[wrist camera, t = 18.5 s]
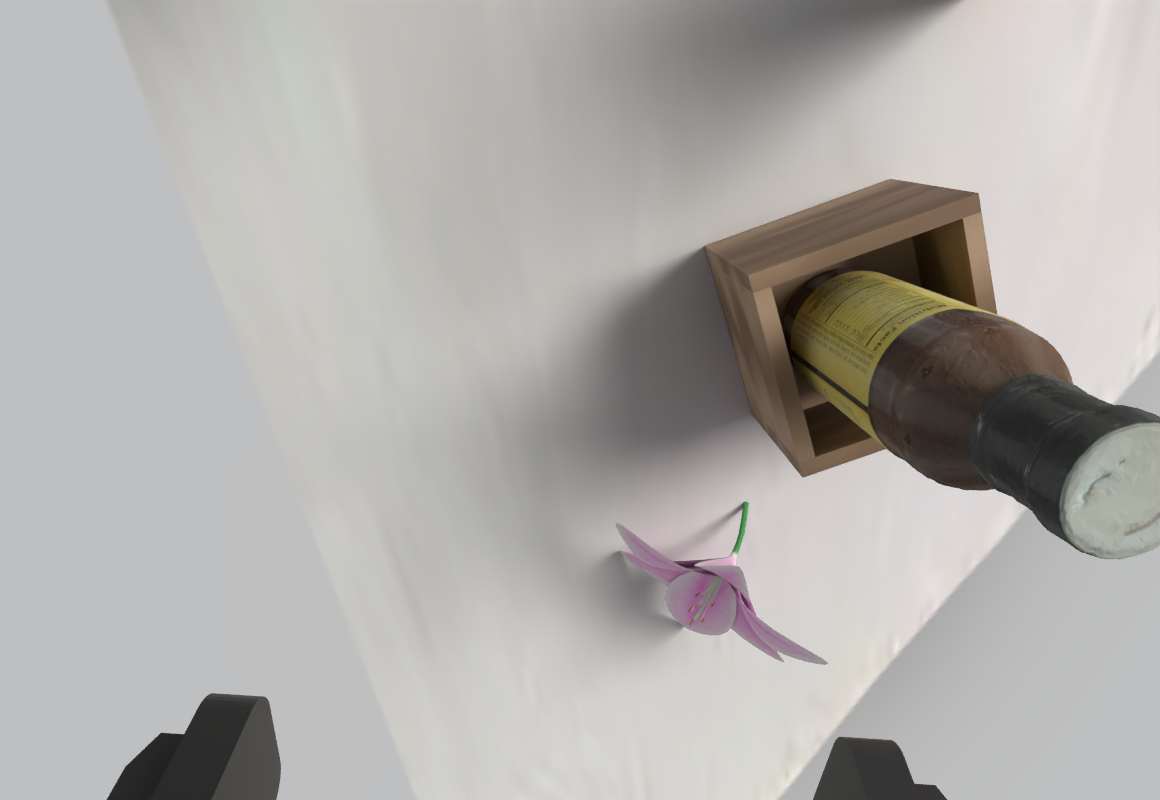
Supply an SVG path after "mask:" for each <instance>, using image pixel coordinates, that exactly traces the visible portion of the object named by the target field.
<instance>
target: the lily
mask: <svg viewBox="0 0 1160 800" xmlns="http://www.w3.org/2000/svg"><path fill="white" fill-rule="evenodd" d="M748 505H749V503H748V502H744V504H743V511H742V519H741V524H740V530H739V535H738V538H737V541H736V544H735V547H734V549H733V551H732V553H731V555H730V556H729V557H726V558H719V559H707V560H694V561H675V562H672V561H671V560H669V559H667V558H666V557H664V556H663V555H661V554H660V553H658V552H657V551H656V550H654V549H653V548H651V547H650V546H649V545H647V544H646V543H645V542H643V541H642V540H641V539H639V538H638V537H637V536H636V535H634V534H633V533H632V532H630V531H629V530H628V529H626V528H625V527H624V526H622V525H620V524H618V523H617V524H616V527H617V529H618V531H619V533H620V535H621V536H622V538H623V540H624V541H625V543H626V544H627V545H628V547H629V548H630V549H631V551H632V552H633V553H634V554H635V555H636V556H635V555H631V554H628V553H625V552H622V551H620V552H621V553H622V555H623V556H624V557H625V558H627V559H628V560H629V561H630V562H631V563H633V564H634V565H636V566H637V567H638V568H640V569H641V570H642V571H644V572H646V573H647V574H649V575H650V576H652V577H653V578H655V579H657V580H658V581H660V582H662V583H664V584H666V585H668V586H669V587H668V588H667V590H666V596H665V599H666V604H667V607H668V609H669V611H670V613H671V614H672V616H673V617H674V618H675V620H676V621H677V622H679V623H680V624H681V625H683V626H684V627H686V628H687V629H689V630H692V631H694V632H698V633H701V634H706V635H721V634H723V633H725V632H727V631H728V630H729V629H730V628H731V629H732V630H734V631H735V632H736V633H737V634H738V635H740V636H741V637H742V638H744V639H745V640H746V641H748V642H749V643H751V644H752V645H754V646H755V647H757V648H758V649H760V650H761V651H763V652H765V653H766V654H768V655H770V656H771V657H773V658H775V659H777V660H779V661H782V662H784V661H783V659H782V658H781V657H780V655H779V654H778V653H777V651H778V652H780V653H782V654H784V655H787V656H790V657H793V658H796V659H799V660H803V661H807V662H811V663H816V664H824V665H825V664H828V663H827V662H826V661H825V660H823V659H822V658H820V657H819V656H817V655H815V654H813V653H812V652H810V651H808V650H807V649H805V648H803V647H801V646H800V645H798V644H796V643H794V642H793V641H791V640H789V639H788V638H786V637H785V636H783V635H781V634H780V633H778V632H777V631H775V630H773V629H772V628H771V627H769V626H768V625H767V624H765V623H764V622H763V621H762V620H760V619H759V618H758V617H757V616H756V614H755V611H754V609H753V606H752V604H751V601H750V599H749V595H748V590H747V585H746V581H745V578H744V574H743V572H742V570H741V569H740V567H737V566H736V557H737V554H738V551H739V549H740V546H741V543H742V539H743V536H744V532H745V526H746V520H747V513H748Z"/></svg>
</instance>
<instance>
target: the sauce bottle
mask: <svg viewBox="0 0 1160 800" xmlns="http://www.w3.org/2000/svg"><path fill="white" fill-rule="evenodd" d="M782 331H783V334H784V338H785V342H786V346H787V350H788V354H789V357H790V361H791V364H792V365H793V367H794V368H795V369H796V370H797V371H798V373H799V375H800V376H801V377H802V379H803V380H804V381H805V382H806V383H807V384H808V385H810V386H811V387H812V388H813V389H814V390H816V391H817V392H818V393H819V394H820V395H822V396H823V397H824V398H825V399H827V400H828V401H829V402H830V403H832V404H833V405H834V406H835V407H837V408H838V409H839V410H840V411H842V412H843V413H844V414H845V415H846V416H848V417H849V418H850V419H851V420H852V421H853V422H855V423H856V424H857V425H858V426H859V427H861V428H862V429H863V430H864V431H865V432H867V433H868V434H869V435H870V436H872V437H873V438H874V439H875V440H876V441H878V442H879V443H880V444H881V445H882V446H884V447H885V448H886V449H887V450H889V451H890V452H891V453H893V454H894V455H895V456H897V457H899V458H901V459H903V460H905V461H906V462H907V463H909V464H910V465H911V466H912V467H913V468H915V469H916V470H917V471H918V472H920V473H922V474H923V475H924V476H926V477H927V478H930V479H932V480H934V481H936V482H937V483H939V484H942V485H945V486H950V487H954V488H960V489H963V490H990V489H996V490H997V491H999V492H1002V493H1004V494H1007V495H1009V496H1012V497H1013V498H1015V500H1016V501H1017V502H1019V503H1021V504H1023V505H1025V506H1026V507H1028V508H1029V509H1030V510H1032V511H1033V513H1034V514H1035V516H1036V517H1037V519H1038V520H1039V521H1040V522H1041V524H1042V525H1043V526H1044V527H1045V528H1046V529H1047V530H1049V531H1050V532H1051V533H1053V534H1055V535H1056V536H1058V537H1059V538H1061V539H1063V540H1064V541H1066V542H1067V543H1069V544H1070V545H1072V546H1073V547H1074V548H1075V549H1077V550H1079V551H1081V552H1083V553H1086V554H1089V555H1092V556H1095V557H1099V558H1104V559H1123V558H1127V557H1131V556H1136V555H1139V554H1142V553H1145V552H1148V551H1151V550H1153V549H1155V548H1157V547H1158V546H1160V417H1159V416H1157V415H1155V414H1152V413H1149V412H1146V411H1144V410H1141V409H1138V408H1133V407H1128V406H1124V405H1112V404H1109V403H1107V402H1105V401H1102V400H1099V399H1097V398H1095V397H1093V396H1092V395H1089V394H1087V393H1086V392H1085V391H1083V390H1082V389H1080V388H1079V387H1077V386H1076V385H1073V382H1072V377H1071V375H1070V372H1069V369H1068V367H1067V366H1066V364H1065V362H1064V361H1063V359H1062V357H1061V355H1060V354H1059V353H1058V352H1057V351H1056V349H1055V348H1054V347H1053V346H1052V345H1051V344H1049V342H1048V341H1046V340H1045V339H1044V338H1042V337H1040V336H1038V335H1037V334H1035V333H1033V332H1032V331H1030V330H1028V329H1026V328H1025V327H1023V326H1021V325H1020V324H1018V323H1016V322H1014V321H1012V320H1010V319H1007V318H1005V317H1002V316H1000V315H997V314H995V313H993V312H989V311H985V310H983V309H980V308H977V307H974V306H971V305H969V304H966V303H963V302H960V301H957V300H954V299H951V298H949V297H946V296H943V295H941V294H938V293H935V292H932V291H930V290H927V289H924V288H921V287H918V286H915V285H913V284H910V283H907V282H904V281H902V280H899V279H896V278H893V277H891V276H888V275H885V274H882V273H878V272H873V271H864V270H859V269H851V268H838V269H833V270H830V271H827V272H825V273H823V274H822V275H820V276H818V277H816V278H815V279H813V280H812V281H810V282H809V283H808V284H806V285H805V286H804V287H803V288H802V289H801V290H800V291H799V292H797V293H796V294H795V295H794V296H793V297H792V299H791V301H790V303H789V305H788V307H787V310H786V314H785V317H784V321H783V326H782Z"/></svg>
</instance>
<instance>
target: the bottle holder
mask: <svg viewBox="0 0 1160 800" xmlns="http://www.w3.org/2000/svg"><path fill="white" fill-rule="evenodd" d="M705 249H706V253H707V256H708V260H709V263H710V267H711V270H712V274H713V277H714V281H715V284H716V288H717V291H718V295H719V298H720V302H721V305H722V309H723V312H724V316H725V319H726V323H727V326H728V330H729V333H730V337H731V340H732V344H733V347H734V351H735V354H736V358H737V361H738V365H739V368H740V372H741V375H742V379H743V382H744V386H745V389H746V392H747V396H748V399H749V403H750V406H751V410H752V413H753V416H754V417H755V419H756V420H757V421H758V422H759V424H760V425H761V426H762V427H763V429H764V430H765V431H766V432H767V434H768V435H769V436H770V437H771V439H772V440H773V441H774V442H775V444H776V445H777V446H778V447H779V449H780V450H781V451H782V452H783V454H784V455H785V456H786V457H787V459H788V460H789V461H790V462H791V464H792V465H793V466H794V467H795V469H796V470H797V471H798V472H799V473H800V475H801V476H802V477H806V476H809V475H812V474H815V473H817V472H820V471H823V470H826V469H829V468H832V467H835V466H838V465H841V464H844V463H846V462H849V461H852V460H855V459H858V458H861V457H864V456H867V455H870V454H873V453H875V452H878V451H881V450H884V449H886V448H885V447H884V446H882V445H881V444H880V443H879V442H878V441H876V440H875V439H874V438H873V437H872V436H870V435H869V434H868V433H867V432H865V431H864V430H863V429H862V428H861V427H859V426H858V425H857V424H856V423H855V422H853V421H852V420H851V419H850V418H849V417H848V416H846V415H845V414H844V413H843V412H842V411H840V410H839V409H838V408H837V407H835V406H834V405H833V404H832V403H830V402H829V401H828V400H827V399H825V398H824V397H823V396H822V395H820V394H819V393H818V392H817V391H816V390H814V389H813V388H812V387H811V386H810V385H808V384H807V383H806V382H805V381H804V380H803V379H802V377H801V376H800V375H799V373H798V371H797V370H796V369H795V368H794V367H793V365H792V364H791V361H790V357H789V354H788V350H787V346H786V342H785V338H784V334H783V331H782V326H783V321H784V317H785V314H786V310H787V307H788V305H789V303H790V301H791V299H792V297H793V296H794V295H795V294H796V293H797V292H799V291H800V290H801V289H802V288H803V287H804V286H805V285H806V284H808V283H809V282H810V281H812V280H813V279H815V278H816V277H818V276H820V275H822V274H823V273H825V272H827V271H830V270H833V269H838V268H851V269H859V270H864V271H873V272H878V273H882V274H885V275H888V276H891V277H893V278H896V279H899V280H902V281H904V282H907V283H910V284H913V285H915V286H918V287H921V288H924V289H927V290H930V291H932V292H935V293H938V294H941V295H943V296H946V297H949V298H951V299H954V300H957V301H960V302H963V303H966V304H969V305H971V306H974V307H977V308H980V309H983V310H985V311H989V312H993V313H995V314H997V310H996V304H995V297H994V291H993V284H992V278H991V271H990V265H989V258H988V252H987V245H986V239H985V233H984V226H983V220H982V213H981V207H980V200H979V194H978V193H974V192H968V191H962V190H956V189H949V188H943V187H937V186H931V185H925V184H918V183H912V182H906V181H900V180H893V179H890V180H887V181H884V182H881V183H879V184H876V185H873V186H870V187H867V188H865V189H862V190H859V191H856V192H854V193H851V194H848V195H845V196H842V197H840V198H837V199H834V200H831V201H829V202H826V203H823V204H820V205H817V206H815V207H812V208H809V209H806V210H804V211H801V212H798V213H795V214H792V215H790V216H787V217H784V218H781V219H779V220H776V221H773V222H770V223H767V224H765V225H762V226H759V227H756V228H754V229H751V230H748V231H745V232H742V233H740V234H737V235H734V236H731V237H729V238H726V239H723V240H720V241H717V242H715V243H712V244H709V245H706V246H705Z"/></svg>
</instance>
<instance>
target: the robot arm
mask: <svg viewBox="0 0 1160 800" xmlns="http://www.w3.org/2000/svg"><path fill="white" fill-rule="evenodd" d="M280 765H281V764H280V757H279V752H278V747H277V741H276V736H275V731H274V726H273V721H272V715H271V710H270V705H269V701H268V699H267V698H266V697H261V696H245V695H230V694H214V693H213V694H209V695H208V696H206V698H205V699H204V700H203V701H202V702H201V704H200V706H199V707H198V709H197V711H196V713H195V715H194V717H193V719H192V721H191V723H190V724H189V726H188V728H187V730H186V732H185V734H169V733H160V734H159V735H158V736H157V737H156V738H155V739H154V740H153V741H152V742H151V743H150V744H149V745H148V746H147V747H146V748H145V749H144V750H143V751H142V752H141V753H140V754H138V756H136V757H135V758H134V759H133V760H132V761H131V762H130V763H129V764H128V765H127V766H126V767H125V769H124V770H123V772H122V774H121V776H120V777H119V779H118V781H117V783H116V785H115V786H114V788H113V790H112V792H111V793H110V795H109V797H108V798H107V800H276V798H277V794H278V789H279V782H280V773H281V766H280ZM813 800H947V799H946V798H945V797H944V795H943V794H942V793H941V792H940V790H939V789H938V788H937V787H936V786H935V785H923V784H914V782H913V779H912V777H911V774H910V771H909V769H908V766H907V763H906V761H905V758H904V756H903V754H902V751H901V749H900V748H899V746H898V745H897V744H896V743H895V742H894V741H892V740H881V739H866V738H851V737H839V738H837V739H836V741H835V743H834V745H833V748H832V750H831V753H830V756H829V758H828V761H827V763H826V766H825V769H824V771H823V774H822V777H821V780H820V782H819V785H818V788H817V790H816V793H815V796H814V799H813Z"/></svg>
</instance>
